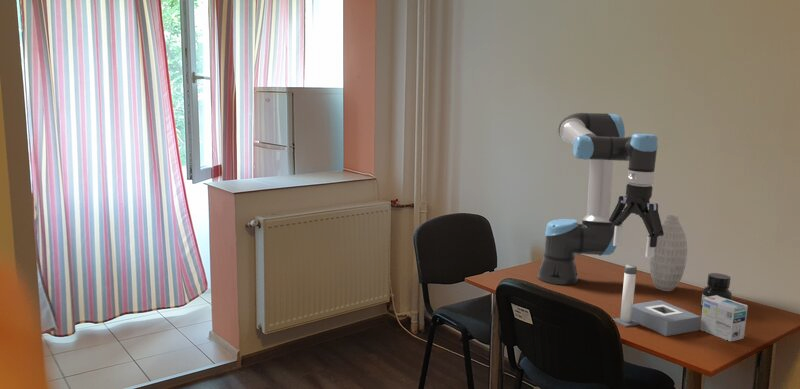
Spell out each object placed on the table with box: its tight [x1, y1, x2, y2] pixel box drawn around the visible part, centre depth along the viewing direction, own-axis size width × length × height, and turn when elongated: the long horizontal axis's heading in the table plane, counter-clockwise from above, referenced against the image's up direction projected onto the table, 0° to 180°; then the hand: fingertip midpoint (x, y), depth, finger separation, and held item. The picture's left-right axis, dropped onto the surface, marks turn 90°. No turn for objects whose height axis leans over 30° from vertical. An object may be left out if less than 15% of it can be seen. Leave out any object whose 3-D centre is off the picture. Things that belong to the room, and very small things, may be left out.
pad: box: [612, 317, 641, 328], centre depth 198 cm, size 6×6×1 cm
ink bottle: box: [700, 272, 733, 308], centre depth 213 cm, size 10×9×12 cm
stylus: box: [619, 264, 638, 323], centre depth 197 cm, size 4×4×18 cm
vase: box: [648, 214, 688, 292], centre depth 232 cm, size 13×13×28 cm
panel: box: [632, 299, 702, 337], centre depth 198 cm, size 16×14×5 cm
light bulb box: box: [699, 295, 749, 342], centre depth 190 cm, size 11×7×11 cm, turn 29°
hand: (632, 251), depth 195 cm, fingers open, 13 cm apart
